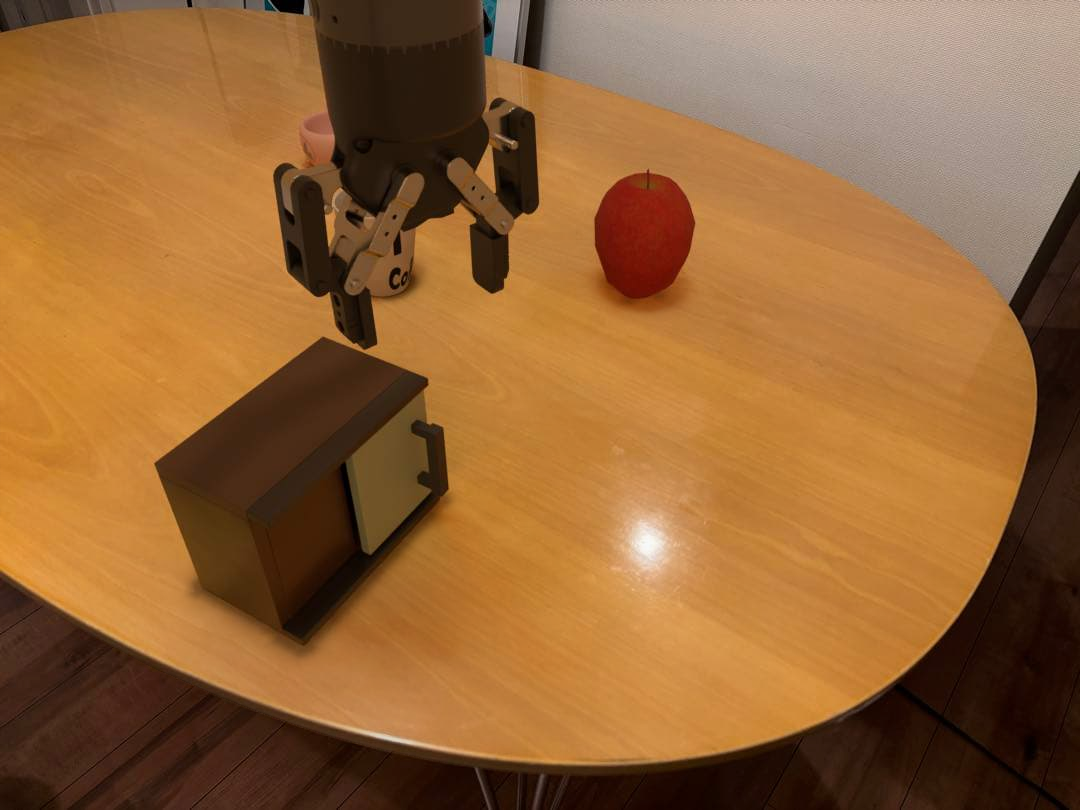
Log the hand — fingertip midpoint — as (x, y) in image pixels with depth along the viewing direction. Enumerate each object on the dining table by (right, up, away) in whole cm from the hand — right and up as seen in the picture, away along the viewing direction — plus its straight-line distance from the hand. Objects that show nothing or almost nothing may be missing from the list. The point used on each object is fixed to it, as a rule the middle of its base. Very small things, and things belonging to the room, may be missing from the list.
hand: (428, 312), depth 50 cm
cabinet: (-11, -15, +18) cm, 26 cm away
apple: (+17, +7, +45) cm, 48 cm away
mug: (-19, +26, +67) cm, 75 cm away
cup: (-10, +8, +45) cm, 47 cm away
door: (-3, -14, +18) cm, 23 cm away
